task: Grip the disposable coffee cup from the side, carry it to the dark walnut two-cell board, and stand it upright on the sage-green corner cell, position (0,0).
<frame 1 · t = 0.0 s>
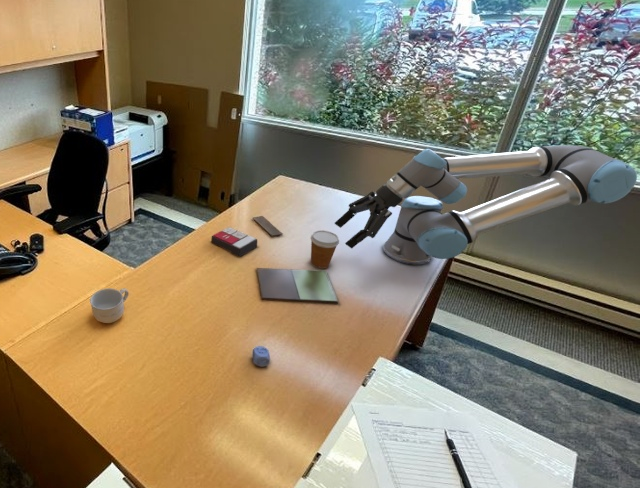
hand: (342, 235, 144), 15 cm above the table, tool tilted 35°, fingers open, 13 cm apart
red and grey box: (233, 245, 171), on the table
teacup: (112, 315, 139), on the table
disposable coffee cup: (319, 263, 156), on the table
wooden plank: (267, 227, 181), on the table
board: (294, 285, 146), on the table
decorative dice: (260, 361, 118), on the table
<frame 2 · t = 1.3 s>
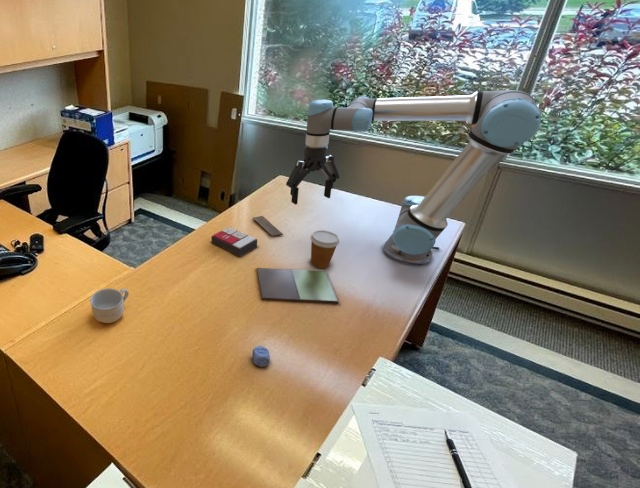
hand: (310, 200, 156), 21 cm above the table, tool pointing down, fingers open, 13 cm apart
nothing on the table moved.
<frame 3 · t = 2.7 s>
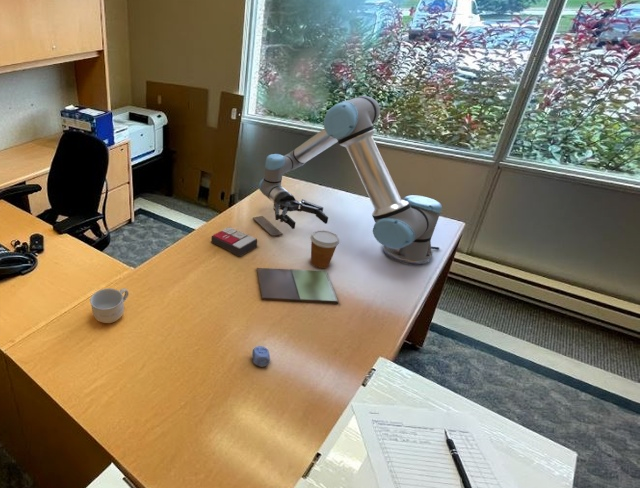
hand: (310, 223, 158), 12 cm above the table, tool horizontal, fingers open, 13 cm apart
nothing on the table moved.
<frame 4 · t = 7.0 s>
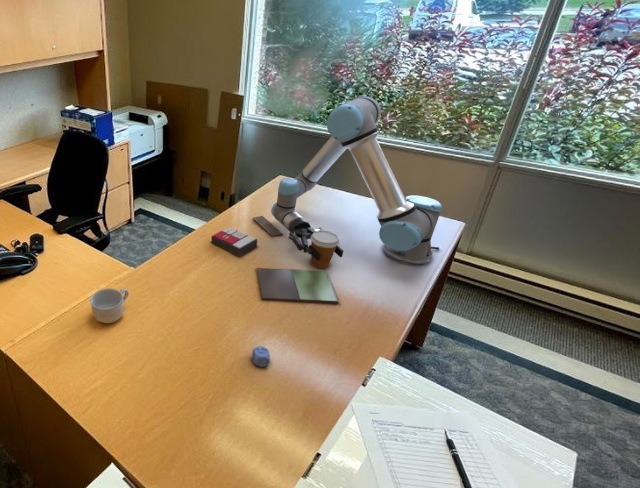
hand: (330, 255, 149), 7 cm above the table, tool horizontal, fingers closed on disposable coffee cup, 8 cm apart
disposable coffee cup: (319, 263, 156), on the table, touching gripper
everything else where it was.
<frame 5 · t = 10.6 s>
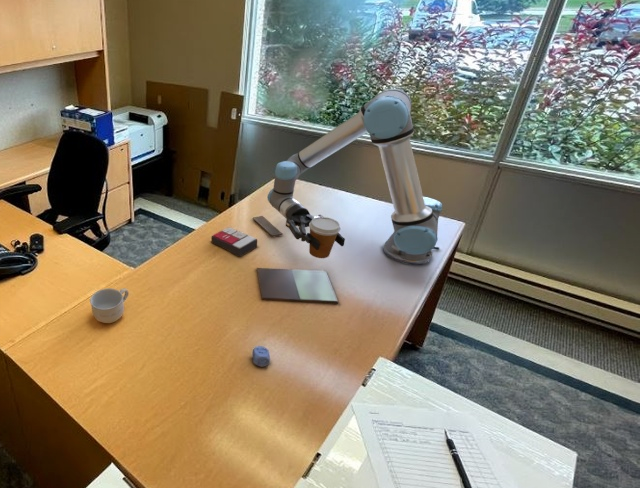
hand: (330, 244, 135), 18 cm above the table, tool horizontal, fingers closed on disposable coffee cup, 8 cm apart
disposable coffee cup: (319, 253, 142), point 11 cm above the table, touching gripper
everything else where it was.
when the fingers open (8 cm above the table, at t = 14.4 s): disposable coffee cup stays where it is, resting on board.
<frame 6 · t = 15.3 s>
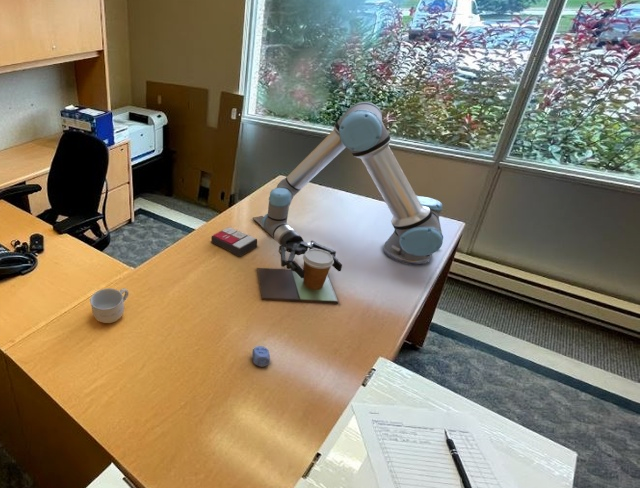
hand: (322, 271, 138), 9 cm above the table, tool horizontal, fingers open, 13 cm apart
disposable coffee cup: (312, 284, 144), point 1 cm above the table, touching board
everything else where it was.
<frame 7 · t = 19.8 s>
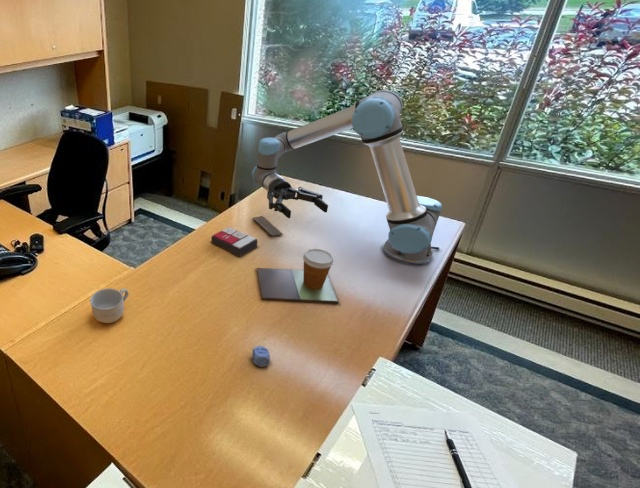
hand: (308, 211, 141), 25 cm above the table, tool horizontal, fingers open, 13 cm apart
nothing on the table moved.
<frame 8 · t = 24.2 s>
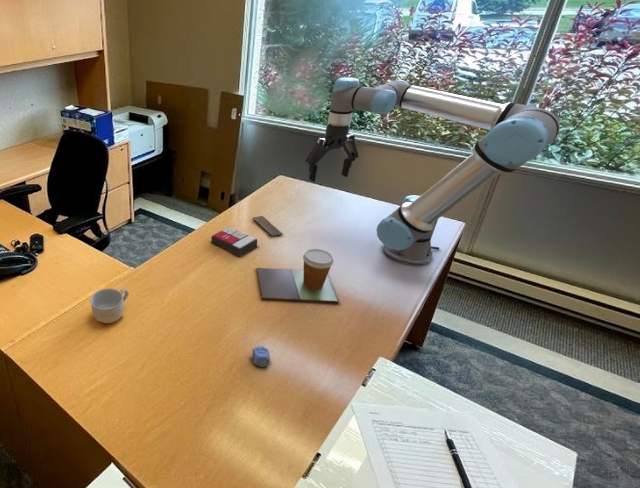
hand: (328, 178, 159), 27 cm above the table, tool pointing down, fingers open, 13 cm apart
nothing on the table moved.
at the end: disposable coffee cup inside the target area on the board (0.1 cm from its centre), point 0.9 cm above the board's base; disposable coffee cup tilted 0°; the gripper is holding nothing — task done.
